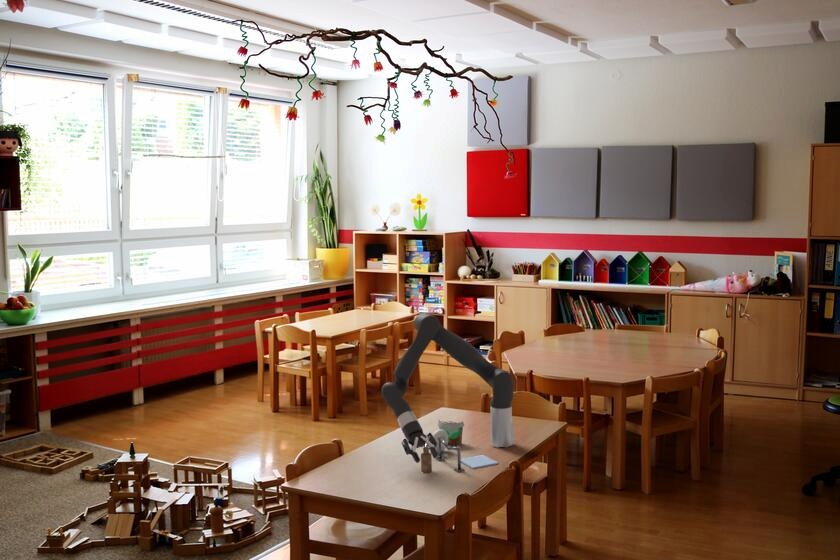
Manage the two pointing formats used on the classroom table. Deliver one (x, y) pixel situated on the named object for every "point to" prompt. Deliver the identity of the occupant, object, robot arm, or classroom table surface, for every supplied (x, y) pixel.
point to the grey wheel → (443, 435)
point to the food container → (452, 431)
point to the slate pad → (478, 461)
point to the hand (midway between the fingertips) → (427, 459)
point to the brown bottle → (426, 461)
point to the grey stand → (449, 449)
